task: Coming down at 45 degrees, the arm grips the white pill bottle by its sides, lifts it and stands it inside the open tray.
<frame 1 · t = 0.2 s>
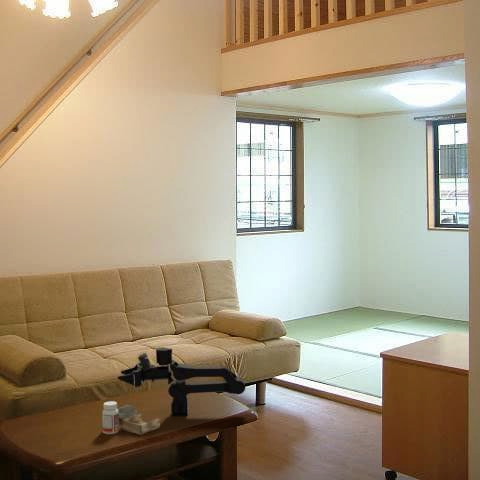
hand: (119, 375, 283), 17 cm above the table, tool horizontal, fingers open, 9 cm apart
pill bottle: (110, 432, 261), on the table
open tray: (140, 428, 265), on the table
wristwatch: (126, 418, 280), on the table
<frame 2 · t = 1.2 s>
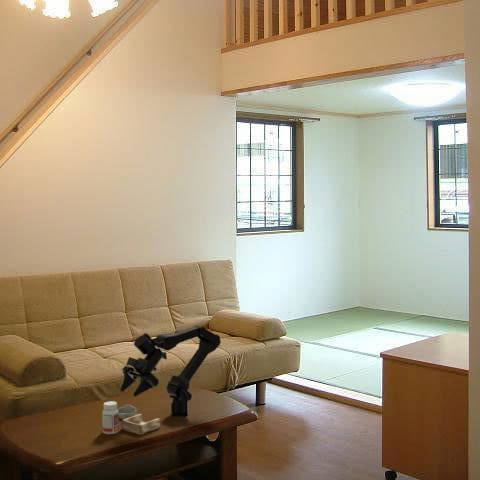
hand: (127, 393, 266), 14 cm above the table, tool tilted 45°, fingers open, 9 cm apart
nothing on the table moved.
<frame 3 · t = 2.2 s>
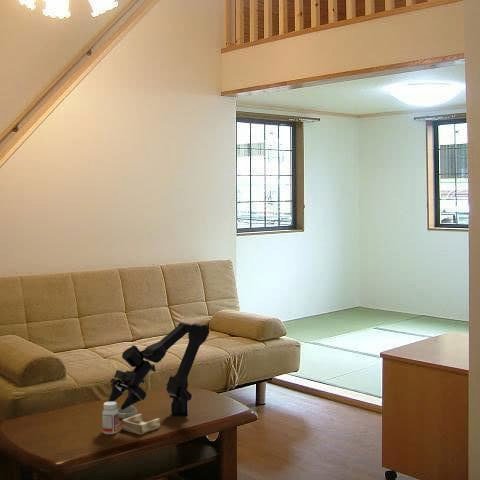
hand: (115, 406, 262), 9 cm above the table, tool tilted 45°, fingers open, 9 cm apart
nothing on the table moved.
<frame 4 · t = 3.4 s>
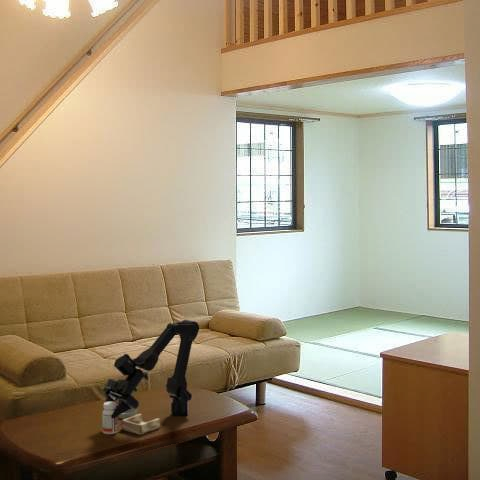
hand: (107, 415, 260), 7 cm above the table, tool tilted 45°, fingers closed on pill bottle, 6 cm apart
pill bottle: (110, 432, 261), on the table, touching gripper
everything else where it was.
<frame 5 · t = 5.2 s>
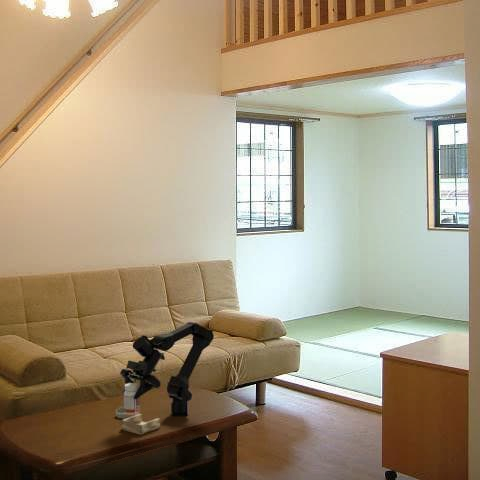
hand: (129, 397, 262), 13 cm above the table, tool tilted 45°, fingers closed on pill bottle, 6 cm apart
pill bottle: (132, 413, 264), point 6 cm above the table, touching gripper
everything else where it was.
when the fingers open (8 cm above the table, at t = 6.9 s): pill bottle stays where it is, resting on open tray.
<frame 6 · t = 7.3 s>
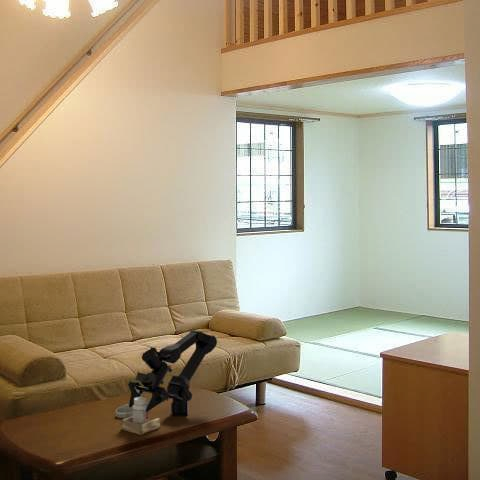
hand: (137, 409, 264), 8 cm above the table, tool tilted 45°, fingers open, 9 cm apart
pill bottle: (140, 427, 266), resting on open tray
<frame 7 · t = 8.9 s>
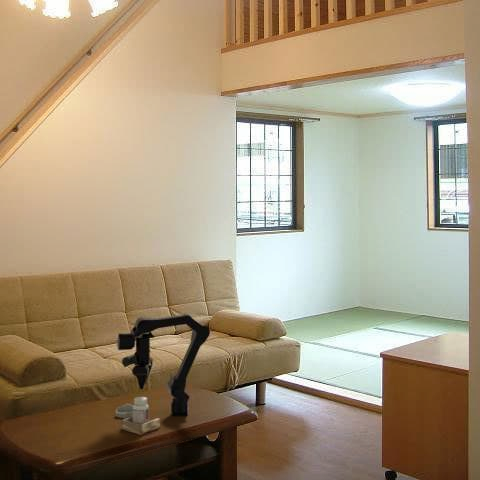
hand: (142, 386, 279), 13 cm above the table, tool pointing down, fingers open, 9 cm apart
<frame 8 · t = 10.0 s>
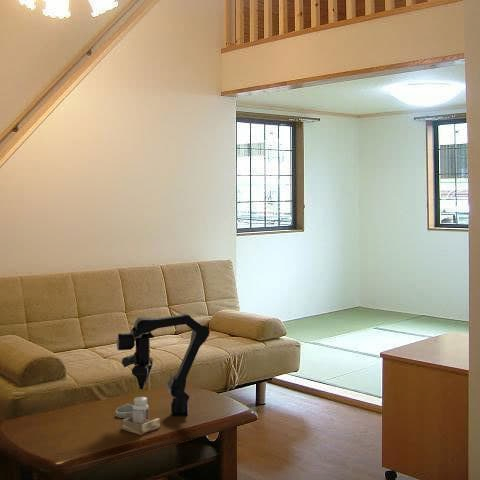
hand: (142, 386, 279), 13 cm above the table, tool pointing down, fingers open, 9 cm apart
at the end: pill bottle 0.2 cm from the open tray (horizontally); pill bottle tilted 0°; pill bottle resting on open tray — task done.
